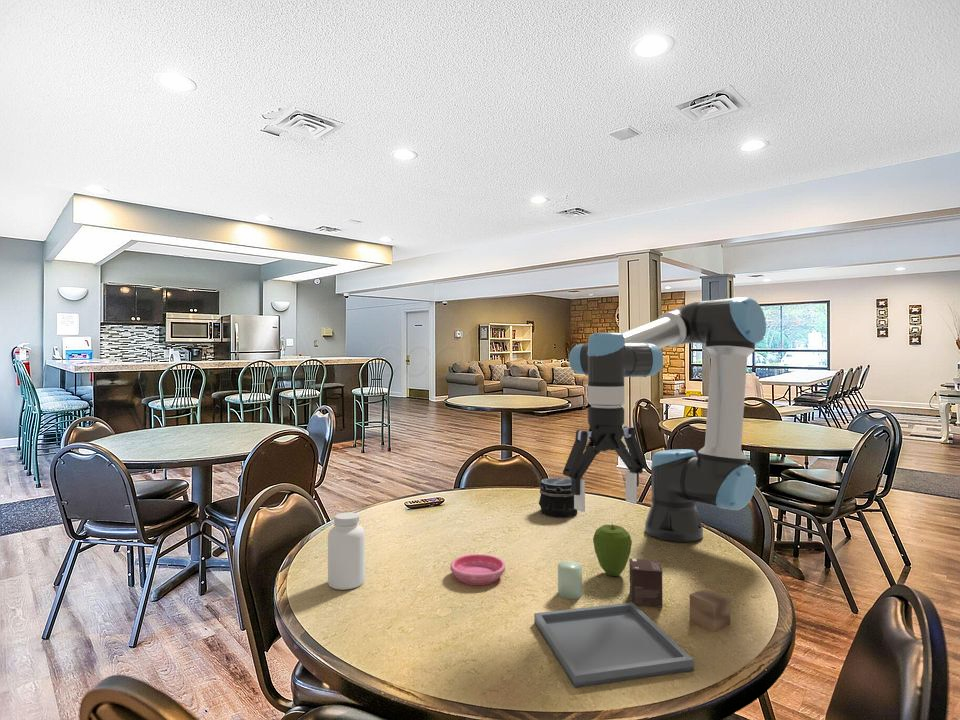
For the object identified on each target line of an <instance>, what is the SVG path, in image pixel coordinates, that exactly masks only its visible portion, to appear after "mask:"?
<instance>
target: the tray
mask: <svg viewBox="0 0 960 720" xmlns="http://www.w3.org/2000/svg"><path fill="white" fill-rule="evenodd" d="M533 618H534V624H535V626H536V628H537V630H538V631H539V632H540V634H541V636H542V638H543V639H544V640H546V641H545V642H546V644H547V645H548V647H549V649H550V648H551V649H550V650H551V652H552V653H553V654H554V655H553V656H555V658H556V660H557V661H558V662H559V665H560V667H562V669H563V671H564V672H565V674H566V676H567V677H568V679H569V680H570V682H571V684H572V685H573V687H574V688H582V687H589V686H596V685H603V684H611V683H616V682H622V681H630V680H636V679H638V680H639V679H644V678H651V677H658V676H665V675H672V674H677V673H686V672H693V671H694V669H695V666H694V661H695V659H694V658H693V657H692V656H691V655H690V654H689V653H688V652H687V651H686V650H685V649H683V648H682V647H681V646H680V645H679V643H677V642H676V641H675V640H673V638H672V637H670V636H669V635H668V633H666V632H665V631H664V630H663V629H662V628H660V626H659V625H658V624H656V623H655V622H654V621H653V620H652V618H650V617H649V616H648V615H647V614H646V613H644V612H643V611H642V609H640V607H638V605H635V604H634V603H633V602H631V601H630V602H624V603H623V602H622V603H614V604H606V605H597V606H587V607H586V606H585V607H578V608H570V609H562V610H561V609H560V610H552V611H543V612H542V611H541V612H534V617H533Z"/></svg>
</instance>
